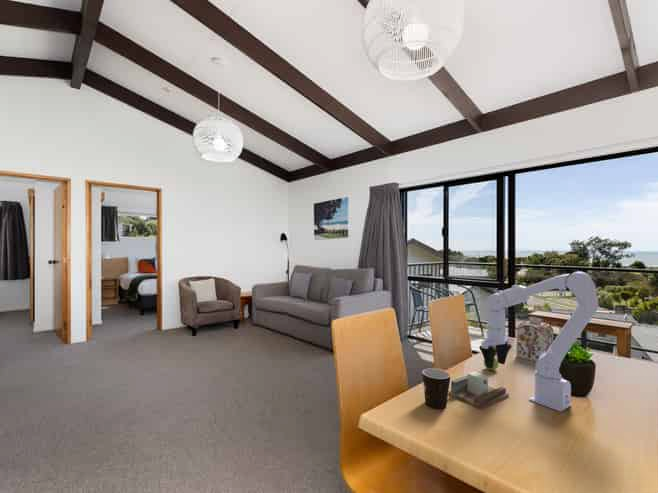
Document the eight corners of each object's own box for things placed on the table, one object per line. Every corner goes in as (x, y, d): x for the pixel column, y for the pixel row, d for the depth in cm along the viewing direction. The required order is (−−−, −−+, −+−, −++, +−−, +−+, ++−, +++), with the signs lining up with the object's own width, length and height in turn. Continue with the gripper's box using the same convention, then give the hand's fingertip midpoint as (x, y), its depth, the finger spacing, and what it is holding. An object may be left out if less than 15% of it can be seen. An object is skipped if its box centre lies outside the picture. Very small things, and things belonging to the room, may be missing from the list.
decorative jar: (525, 352, 164) (526, 314, 164) (553, 358, 155) (554, 319, 155) (515, 357, 156) (516, 318, 156) (543, 364, 147) (544, 322, 147)
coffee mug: (425, 396, 115) (426, 366, 115) (452, 402, 110) (453, 371, 110) (415, 410, 105) (416, 378, 105) (444, 418, 100) (445, 384, 100)
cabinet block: (489, 394, 114) (489, 376, 114) (482, 397, 112) (482, 379, 112) (474, 388, 119) (474, 371, 119) (467, 390, 117) (467, 373, 117)
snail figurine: (503, 372, 137) (503, 342, 137) (487, 372, 137) (487, 342, 137) (496, 367, 143) (497, 339, 142) (481, 367, 143) (481, 338, 143)
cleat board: (508, 396, 115) (509, 382, 115) (481, 409, 106) (481, 393, 106) (476, 384, 125) (476, 370, 125) (448, 394, 116) (448, 380, 116)
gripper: (496, 322, 128) (495, 358, 129) (473, 327, 120) (473, 365, 120) (515, 326, 123) (514, 364, 123) (492, 331, 114) (492, 372, 115)
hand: (495, 365), depth 121 cm, fingers open, 7 cm apart
